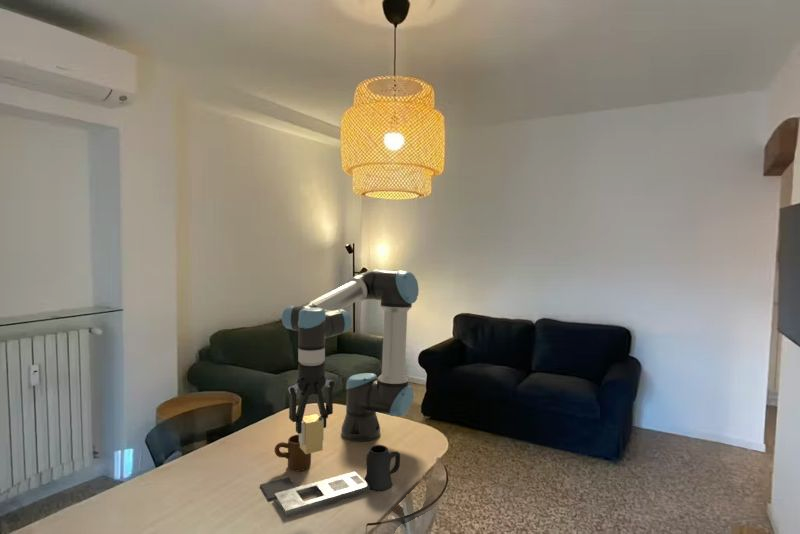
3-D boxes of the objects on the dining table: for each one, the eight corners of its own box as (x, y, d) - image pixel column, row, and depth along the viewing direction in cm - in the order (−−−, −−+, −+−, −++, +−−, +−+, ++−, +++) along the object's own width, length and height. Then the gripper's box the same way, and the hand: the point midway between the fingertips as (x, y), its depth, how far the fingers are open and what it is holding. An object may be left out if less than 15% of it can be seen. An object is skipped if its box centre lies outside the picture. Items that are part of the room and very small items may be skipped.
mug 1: (276, 476, 149) (276, 447, 148) (272, 465, 156) (272, 438, 155) (313, 469, 154) (313, 441, 153) (307, 459, 161) (307, 432, 160)
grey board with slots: (354, 477, 149) (355, 471, 149) (369, 492, 141) (369, 485, 141) (274, 500, 135) (274, 493, 135) (285, 517, 127) (285, 510, 127)
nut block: (316, 443, 139) (316, 414, 138) (322, 450, 134) (322, 419, 134) (299, 447, 136) (299, 417, 135) (305, 454, 132) (306, 423, 131)
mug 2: (371, 494, 139) (372, 458, 139) (358, 480, 147) (359, 446, 147) (405, 484, 146) (406, 449, 145) (391, 471, 153) (392, 438, 153)
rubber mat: (288, 478, 147) (288, 476, 147) (298, 492, 140) (298, 490, 140) (260, 486, 143) (260, 484, 143) (268, 500, 135) (268, 498, 135)
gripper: (335, 355, 141) (334, 429, 143) (276, 363, 132) (276, 442, 133) (345, 361, 135) (345, 439, 137) (284, 369, 125) (284, 453, 127)
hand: (311, 440), depth 135 cm, fingers closed on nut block, 5 cm apart
